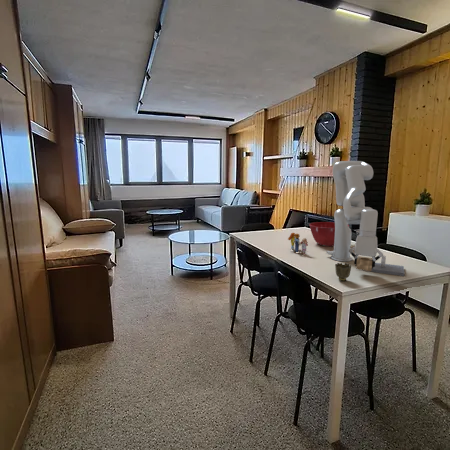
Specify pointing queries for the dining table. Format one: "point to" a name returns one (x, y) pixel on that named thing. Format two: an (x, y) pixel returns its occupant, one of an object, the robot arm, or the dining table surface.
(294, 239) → the doll family
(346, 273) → the cup
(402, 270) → the needle board
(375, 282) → the dining table surface
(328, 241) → the mixing bowl
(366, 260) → the oak bead
